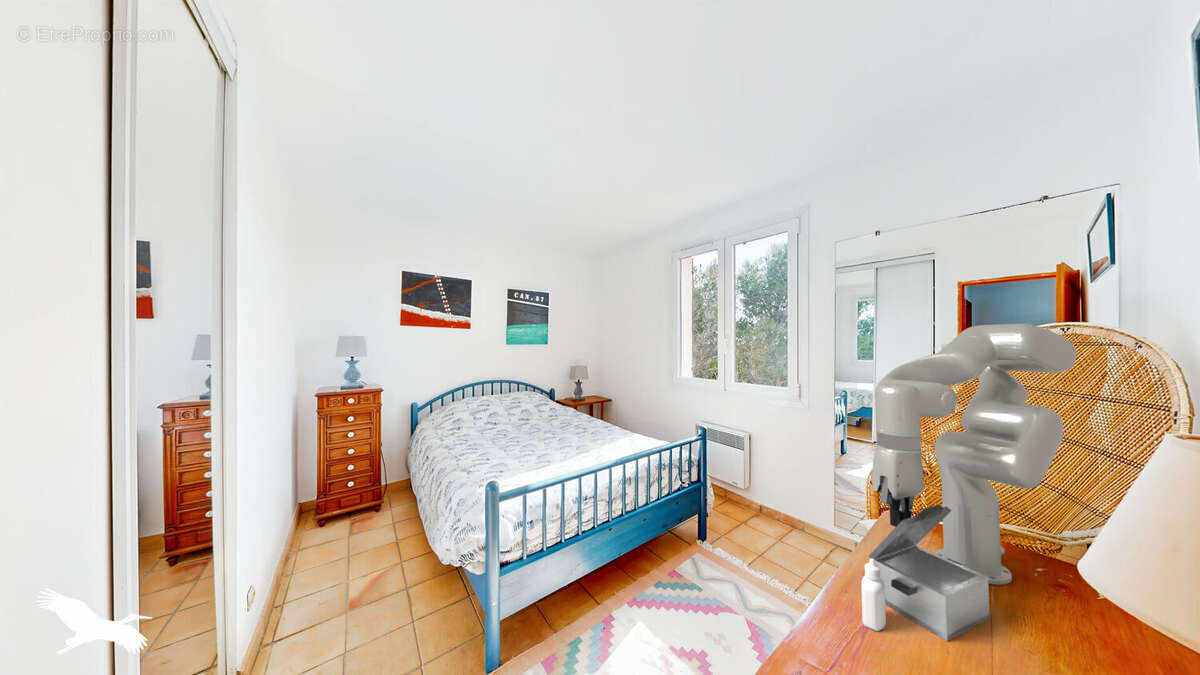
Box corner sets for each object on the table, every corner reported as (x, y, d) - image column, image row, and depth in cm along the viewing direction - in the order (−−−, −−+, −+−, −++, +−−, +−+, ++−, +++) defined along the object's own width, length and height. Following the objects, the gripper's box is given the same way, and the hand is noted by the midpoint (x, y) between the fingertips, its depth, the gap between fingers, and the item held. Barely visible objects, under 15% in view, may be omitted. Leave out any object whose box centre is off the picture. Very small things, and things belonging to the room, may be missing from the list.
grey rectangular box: (923, 578, 83) (922, 543, 83) (996, 615, 72) (994, 574, 72) (868, 601, 76) (867, 562, 76) (938, 645, 65) (937, 600, 65)
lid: (915, 545, 83) (911, 541, 83) (957, 504, 76) (952, 500, 76) (872, 560, 77) (868, 556, 78) (913, 518, 70) (908, 513, 71)
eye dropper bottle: (897, 628, 69) (895, 563, 69) (872, 633, 68) (870, 568, 68) (875, 611, 74) (873, 551, 74) (851, 616, 72) (850, 554, 73)
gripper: (901, 433, 85) (903, 513, 85) (856, 441, 80) (859, 526, 80) (940, 441, 78) (943, 528, 78) (894, 450, 73) (897, 543, 73)
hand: (900, 527), depth 79 cm, fingers closed
